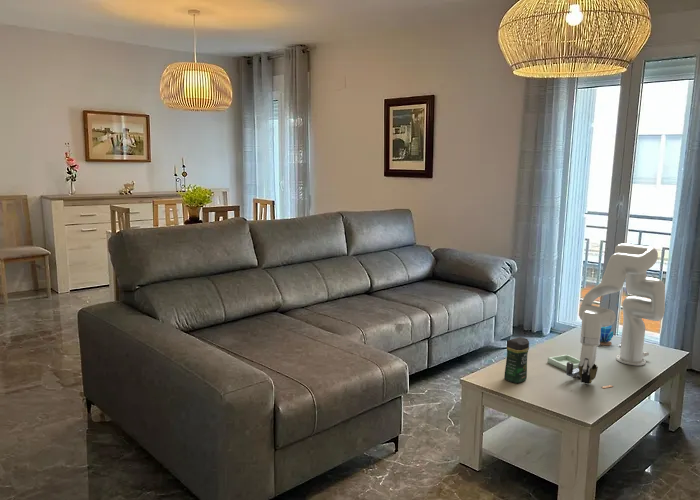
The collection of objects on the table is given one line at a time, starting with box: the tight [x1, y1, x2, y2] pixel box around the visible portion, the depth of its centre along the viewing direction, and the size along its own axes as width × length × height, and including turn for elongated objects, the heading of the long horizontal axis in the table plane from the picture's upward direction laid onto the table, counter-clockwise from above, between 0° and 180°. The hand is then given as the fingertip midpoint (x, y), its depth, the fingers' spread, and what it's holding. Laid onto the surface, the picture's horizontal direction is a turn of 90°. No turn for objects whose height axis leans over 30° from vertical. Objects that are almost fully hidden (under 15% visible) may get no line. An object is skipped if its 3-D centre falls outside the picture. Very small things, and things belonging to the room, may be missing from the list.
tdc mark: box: [601, 384, 613, 389], centre depth 228 cm, size 5×1×1 cm, turn 113°
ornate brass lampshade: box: [579, 363, 599, 385], centre depth 229 cm, size 8×7×8 cm
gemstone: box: [599, 324, 614, 347], centre depth 283 cm, size 7×9×12 cm
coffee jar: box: [503, 336, 530, 384], centre depth 233 cm, size 10×8×19 cm
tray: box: [547, 354, 580, 372], centre depth 252 cm, size 12×12×2 cm
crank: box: [565, 362, 579, 378], centre depth 236 cm, size 14×4×6 cm, turn 128°
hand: (587, 379), depth 230 cm, fingers closed on ornate brass lampshade, 6 cm apart
